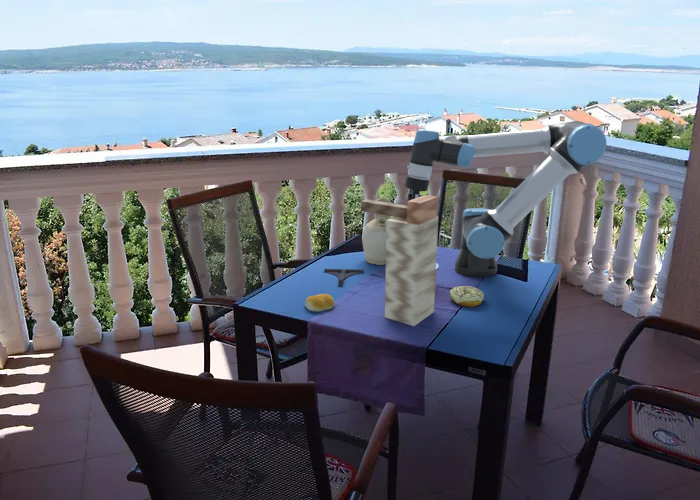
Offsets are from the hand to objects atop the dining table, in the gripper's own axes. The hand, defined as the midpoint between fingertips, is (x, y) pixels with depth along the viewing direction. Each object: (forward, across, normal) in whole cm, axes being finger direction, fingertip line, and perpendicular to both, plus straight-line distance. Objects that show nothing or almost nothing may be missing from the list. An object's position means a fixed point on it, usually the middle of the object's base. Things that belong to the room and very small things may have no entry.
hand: (405, 239), depth 185 cm
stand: (+17, +24, +3) cm, 30 cm away
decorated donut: (+14, +13, +22) cm, 29 cm away
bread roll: (+22, +19, -24) cm, 38 cm away
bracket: (+20, -6, -18) cm, 28 cm away
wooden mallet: (-11, +23, -7) cm, 27 cm away
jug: (+15, -26, -4) cm, 30 cm away
